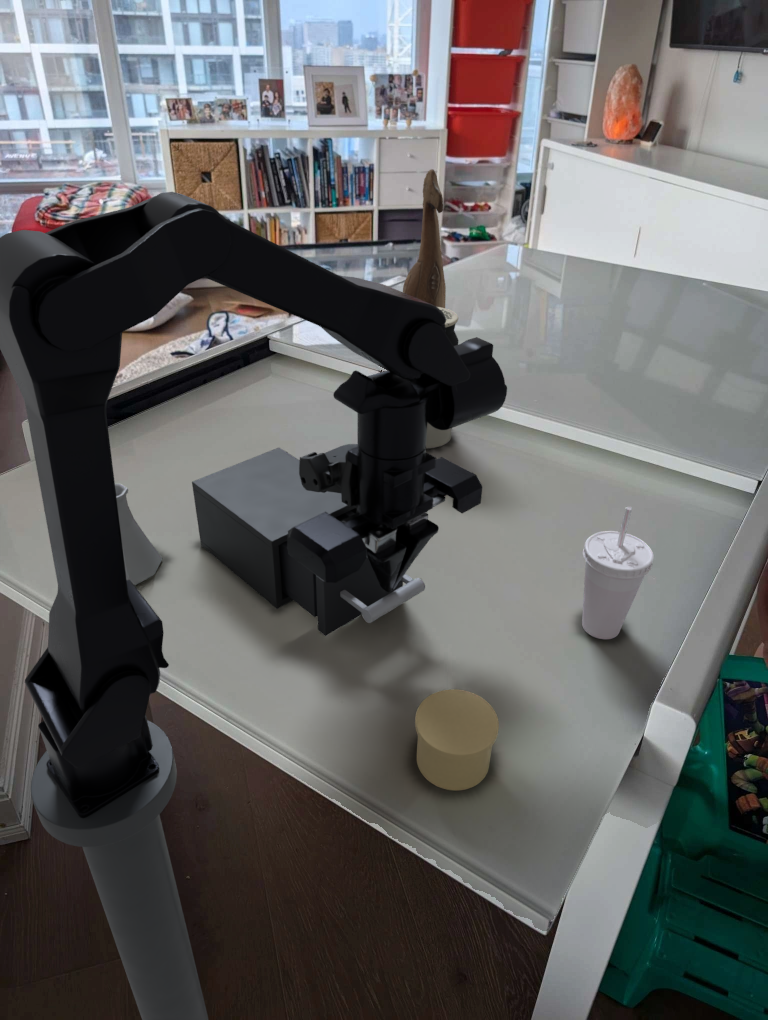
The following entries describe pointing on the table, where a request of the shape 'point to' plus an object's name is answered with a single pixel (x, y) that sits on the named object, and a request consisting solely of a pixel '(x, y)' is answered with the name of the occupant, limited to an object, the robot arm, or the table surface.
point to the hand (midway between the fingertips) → (387, 588)
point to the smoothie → (612, 578)
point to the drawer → (342, 592)
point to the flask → (135, 543)
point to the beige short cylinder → (455, 738)
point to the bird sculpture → (429, 250)
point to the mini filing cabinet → (257, 516)
